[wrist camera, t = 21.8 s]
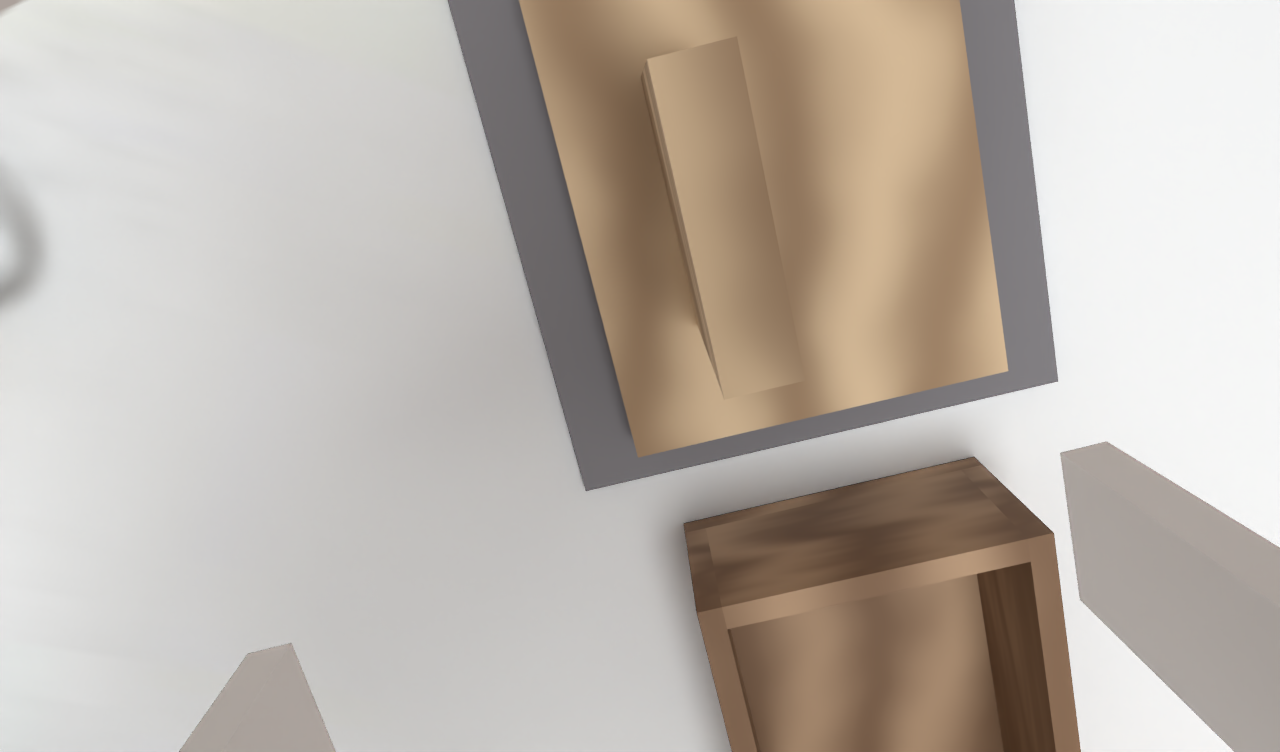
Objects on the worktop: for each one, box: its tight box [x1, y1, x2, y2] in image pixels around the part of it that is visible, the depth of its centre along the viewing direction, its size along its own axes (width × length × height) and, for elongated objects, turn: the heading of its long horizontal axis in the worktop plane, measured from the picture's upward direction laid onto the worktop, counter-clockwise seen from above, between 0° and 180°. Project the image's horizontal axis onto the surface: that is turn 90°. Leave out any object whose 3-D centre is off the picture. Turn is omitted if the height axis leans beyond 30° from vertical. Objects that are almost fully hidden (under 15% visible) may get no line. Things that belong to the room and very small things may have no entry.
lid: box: [519, 0, 1008, 457], centre depth 31 cm, size 16×20×12 cm
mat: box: [448, 0, 1058, 491], centre depth 38 cm, size 22×24×1 cm
